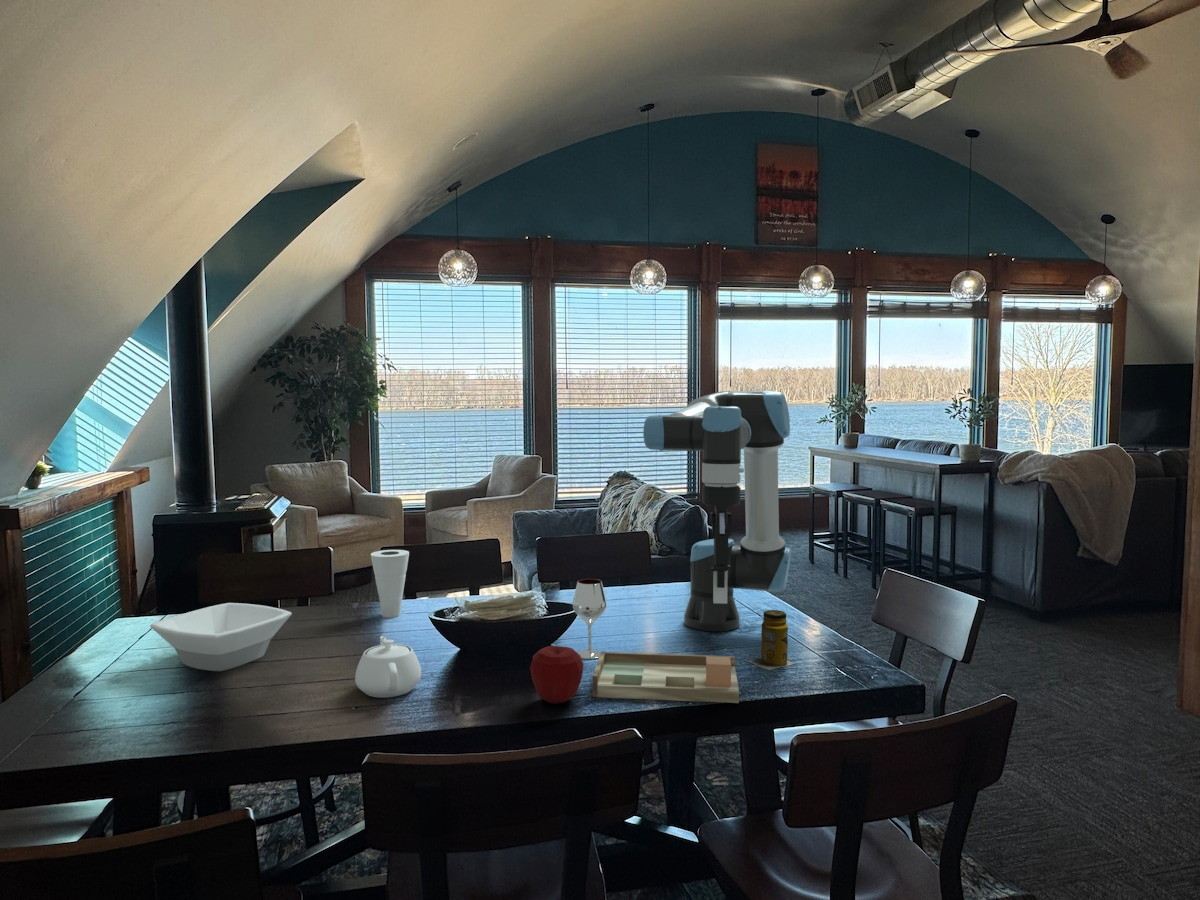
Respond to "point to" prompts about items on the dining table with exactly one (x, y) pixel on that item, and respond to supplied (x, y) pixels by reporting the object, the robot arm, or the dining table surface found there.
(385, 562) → the cup
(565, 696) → the apple
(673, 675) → the tray
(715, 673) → the block
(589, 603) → the wineglass
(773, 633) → the condiment
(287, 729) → the dining table surface
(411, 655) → the teapot
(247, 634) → the bowl
